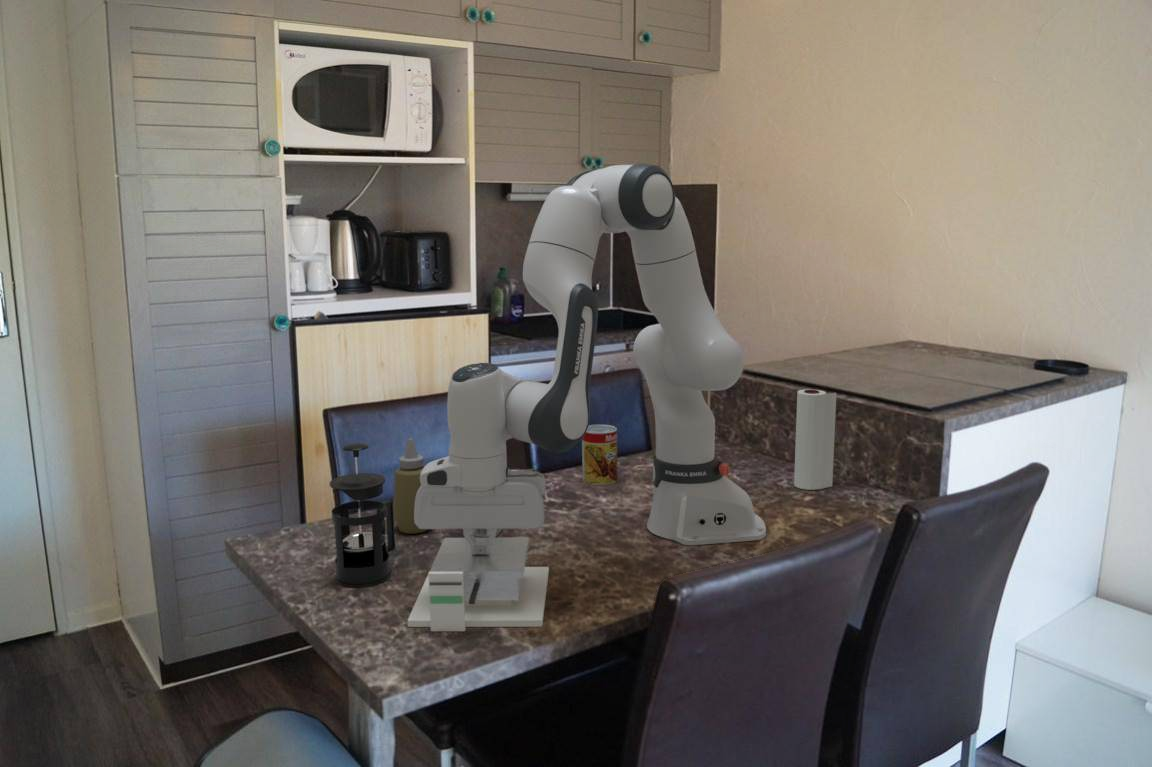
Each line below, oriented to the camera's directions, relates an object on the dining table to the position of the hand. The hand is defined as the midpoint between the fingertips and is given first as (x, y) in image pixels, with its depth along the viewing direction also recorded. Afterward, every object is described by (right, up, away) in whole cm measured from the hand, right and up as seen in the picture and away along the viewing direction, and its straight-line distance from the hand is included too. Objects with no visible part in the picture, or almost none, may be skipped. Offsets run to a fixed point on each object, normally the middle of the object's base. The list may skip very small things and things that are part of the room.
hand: (481, 553), depth 141 cm
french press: (-21, -6, +11) cm, 24 cm away
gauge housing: (0, -7, +2) cm, 8 cm away
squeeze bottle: (-16, -2, +32) cm, 36 cm away
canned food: (+20, +5, +62) cm, 65 cm away
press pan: (0, -5, -2) cm, 6 cm away
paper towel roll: (+66, +4, +55) cm, 86 cm away
